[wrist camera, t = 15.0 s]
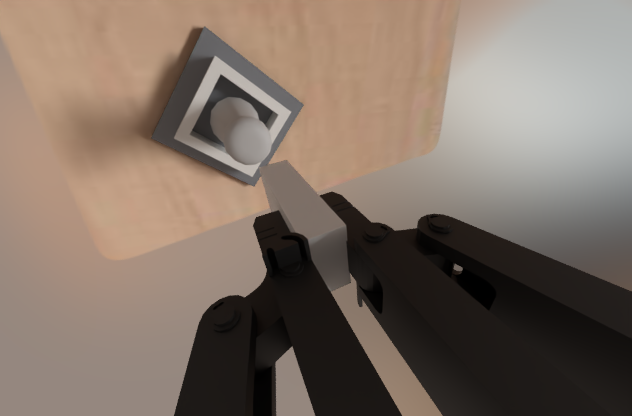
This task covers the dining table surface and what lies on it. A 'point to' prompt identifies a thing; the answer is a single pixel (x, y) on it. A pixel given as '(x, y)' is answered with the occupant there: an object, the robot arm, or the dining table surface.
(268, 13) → the dining table surface
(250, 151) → the grey bulb peg
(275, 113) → the socket
